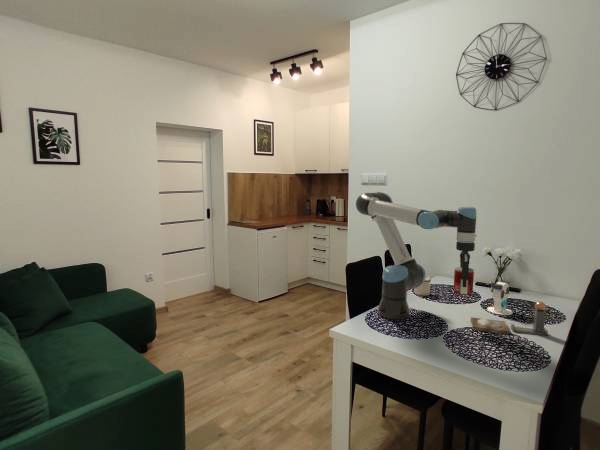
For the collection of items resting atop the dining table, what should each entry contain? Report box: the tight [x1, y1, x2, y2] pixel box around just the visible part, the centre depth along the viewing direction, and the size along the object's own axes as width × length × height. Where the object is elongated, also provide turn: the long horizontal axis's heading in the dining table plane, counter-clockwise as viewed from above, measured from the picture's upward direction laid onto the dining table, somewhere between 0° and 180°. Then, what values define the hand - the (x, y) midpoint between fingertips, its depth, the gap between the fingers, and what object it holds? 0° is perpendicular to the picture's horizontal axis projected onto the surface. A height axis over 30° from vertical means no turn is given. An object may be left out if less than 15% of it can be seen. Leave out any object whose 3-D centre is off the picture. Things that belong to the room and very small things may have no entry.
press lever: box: [532, 301, 547, 333], centre depth 158 cm, size 4×4×13 cm
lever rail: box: [510, 323, 549, 337], centre depth 160 cm, size 13×4×2 cm, turn 71°
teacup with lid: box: [413, 275, 432, 296], centre depth 215 cm, size 12×9×12 cm
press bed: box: [470, 316, 511, 335], centre depth 165 cm, size 14×12×2 cm
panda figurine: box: [486, 279, 513, 316], centre depth 185 cm, size 12×11×15 cm
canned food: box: [453, 266, 475, 296], centre depth 167 cm, size 8×8×11 cm
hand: (463, 291), depth 167 cm, fingers closed on canned food, 8 cm apart
